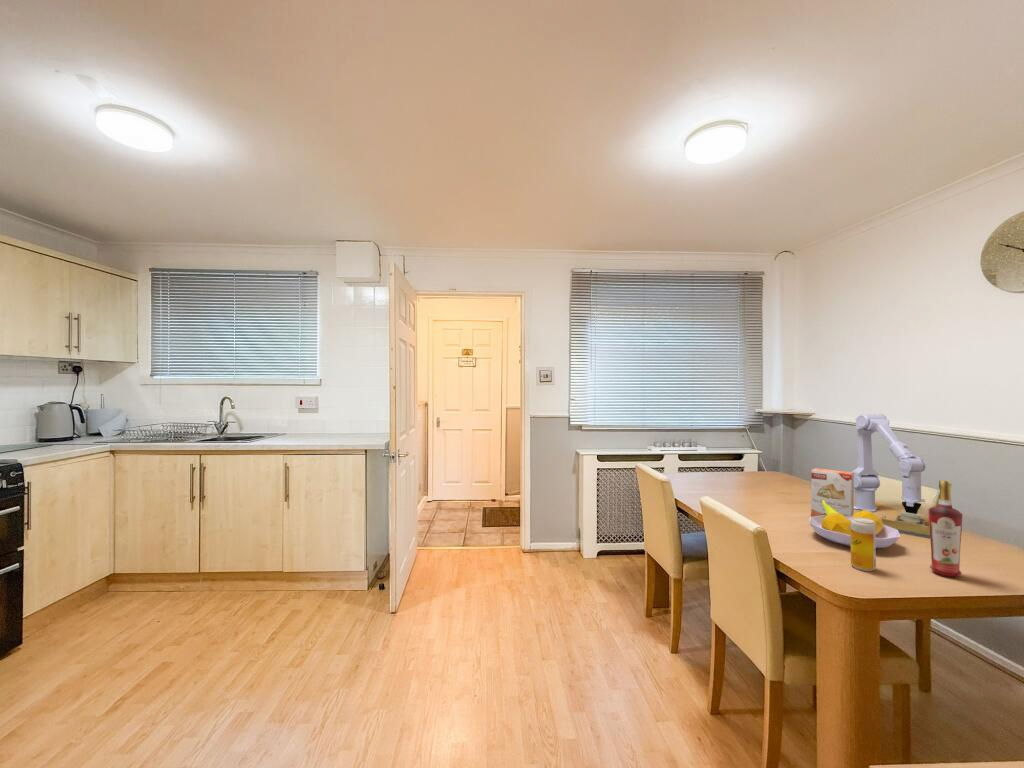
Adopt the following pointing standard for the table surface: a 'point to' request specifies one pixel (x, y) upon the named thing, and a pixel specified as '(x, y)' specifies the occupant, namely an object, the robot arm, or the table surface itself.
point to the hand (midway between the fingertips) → (911, 520)
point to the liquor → (945, 534)
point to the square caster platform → (911, 518)
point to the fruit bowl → (840, 527)
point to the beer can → (863, 544)
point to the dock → (908, 528)
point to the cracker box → (832, 491)
